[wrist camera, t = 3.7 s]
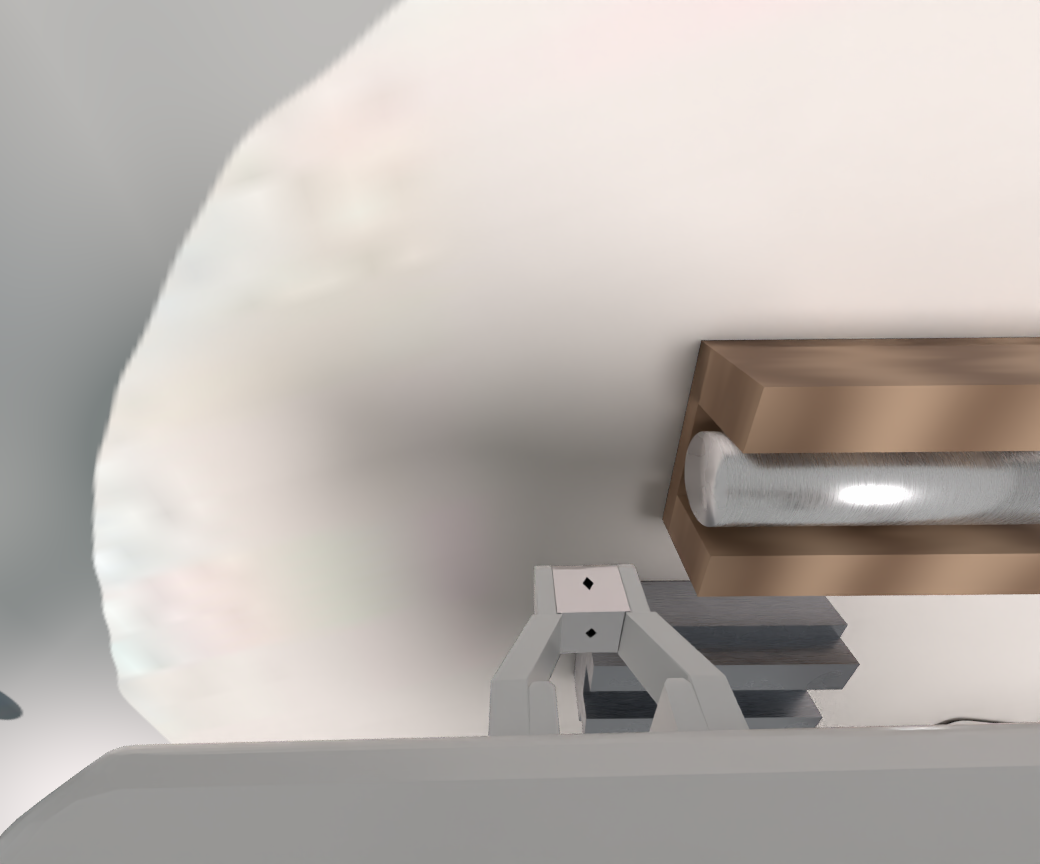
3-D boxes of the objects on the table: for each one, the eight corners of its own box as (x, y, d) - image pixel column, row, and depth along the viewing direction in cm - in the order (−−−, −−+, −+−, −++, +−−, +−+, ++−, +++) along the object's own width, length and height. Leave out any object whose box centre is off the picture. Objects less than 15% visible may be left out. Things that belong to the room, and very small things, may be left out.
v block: (812, 580, 24) (868, 651, 20) (764, 673, 29) (802, 745, 25) (583, 582, 24) (595, 653, 21) (573, 674, 29) (582, 747, 25)
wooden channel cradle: (1078, 336, 17) (1270, 382, 13) (954, 516, 22) (1061, 593, 18) (701, 340, 17) (764, 387, 13) (662, 519, 22) (697, 596, 18)
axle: (1060, 411, 18) (1191, 464, 14) (1004, 482, 20) (1106, 544, 16) (696, 414, 18) (739, 468, 14) (678, 485, 20) (712, 547, 16)
